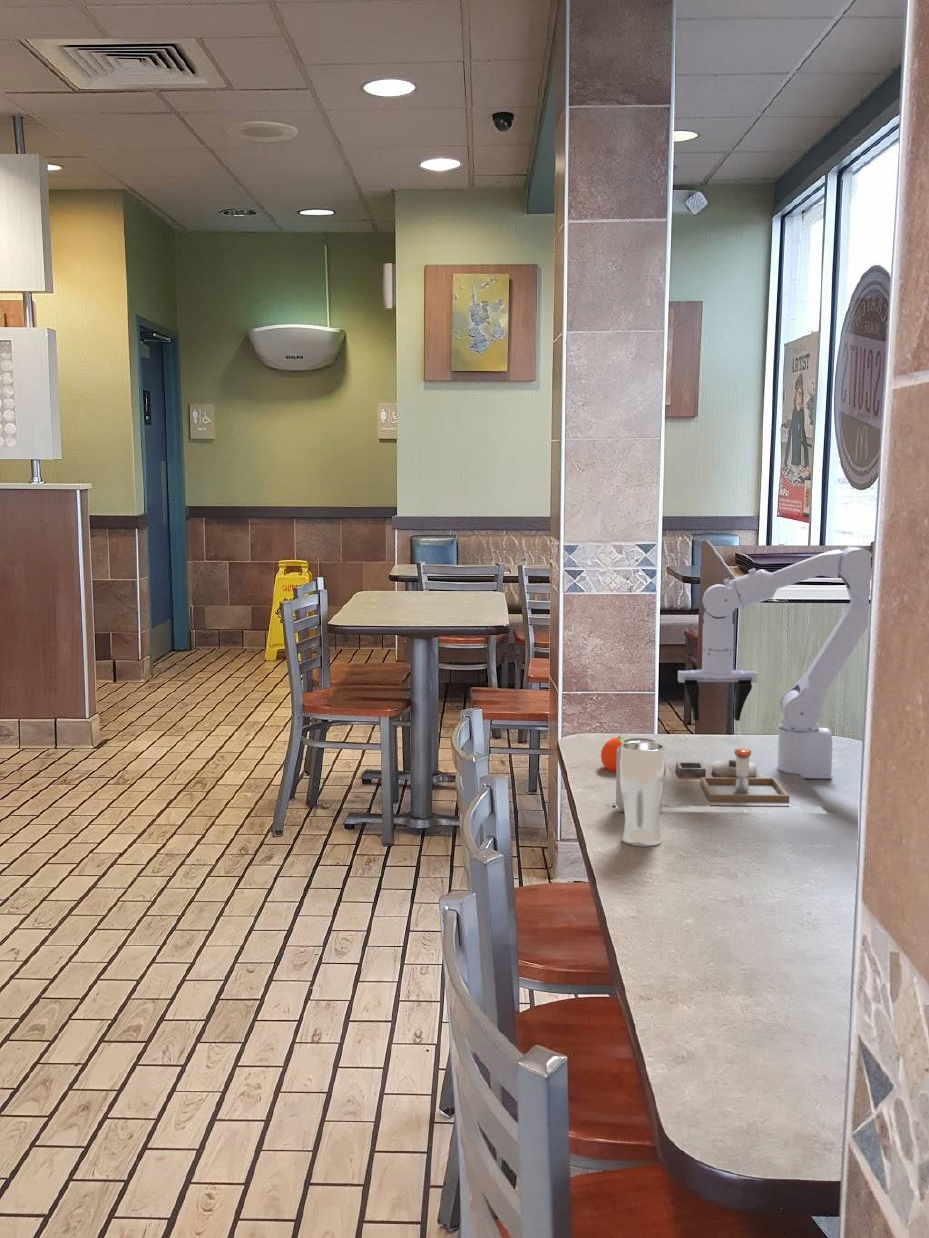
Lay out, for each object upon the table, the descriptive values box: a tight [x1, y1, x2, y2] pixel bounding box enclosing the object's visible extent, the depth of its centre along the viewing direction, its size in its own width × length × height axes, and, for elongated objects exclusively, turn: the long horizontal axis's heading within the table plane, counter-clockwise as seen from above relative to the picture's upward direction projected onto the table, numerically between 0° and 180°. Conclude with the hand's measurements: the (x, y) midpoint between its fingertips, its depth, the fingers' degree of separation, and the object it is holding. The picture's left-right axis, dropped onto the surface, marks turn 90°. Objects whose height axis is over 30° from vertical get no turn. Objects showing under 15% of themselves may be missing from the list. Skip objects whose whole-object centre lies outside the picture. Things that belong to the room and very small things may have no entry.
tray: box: [700, 777, 790, 808], centre depth 196 cm, size 13×11×2 cm
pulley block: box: [667, 759, 763, 783], centre depth 208 cm, size 16×12×3 cm
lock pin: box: [734, 748, 752, 794], centre depth 196 cm, size 3×3×8 cm
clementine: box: [600, 736, 626, 773], centre depth 212 cm, size 8×7×7 cm
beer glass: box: [620, 741, 666, 848], centre depth 172 cm, size 7×7×15 cm
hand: (716, 719), depth 213 cm, fingers open, 7 cm apart
